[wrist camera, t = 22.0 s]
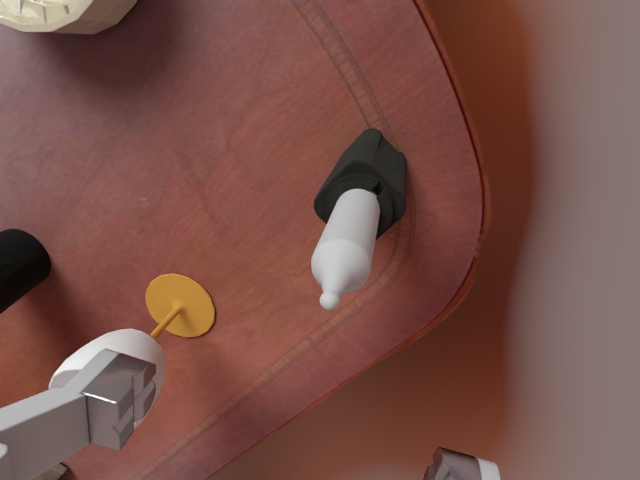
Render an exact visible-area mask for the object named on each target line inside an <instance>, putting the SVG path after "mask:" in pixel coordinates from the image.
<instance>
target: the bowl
mask: <svg viewBox="0 0 640 480" xmlns="http://www.w3.org/2000/svg"><path fill="white" fill-rule="evenodd" d="M136 2H137V0H0V24H3V25H5V26H8V27H11V28H13V29H16V30H19V31H22V32H29V33H48V34H67V35H76V34H96V33H98V32H100V31H102V30H105V29H107V28H109V27H111V26H113V25H116V24H117V23H118V22H119V21H120V20H121V19H122V18H123V17H124V16H125V15H126V14H127V13H128V11H129V10H130V9H131V8H132V7H133V6H134V5H135V4H136Z"/></svg>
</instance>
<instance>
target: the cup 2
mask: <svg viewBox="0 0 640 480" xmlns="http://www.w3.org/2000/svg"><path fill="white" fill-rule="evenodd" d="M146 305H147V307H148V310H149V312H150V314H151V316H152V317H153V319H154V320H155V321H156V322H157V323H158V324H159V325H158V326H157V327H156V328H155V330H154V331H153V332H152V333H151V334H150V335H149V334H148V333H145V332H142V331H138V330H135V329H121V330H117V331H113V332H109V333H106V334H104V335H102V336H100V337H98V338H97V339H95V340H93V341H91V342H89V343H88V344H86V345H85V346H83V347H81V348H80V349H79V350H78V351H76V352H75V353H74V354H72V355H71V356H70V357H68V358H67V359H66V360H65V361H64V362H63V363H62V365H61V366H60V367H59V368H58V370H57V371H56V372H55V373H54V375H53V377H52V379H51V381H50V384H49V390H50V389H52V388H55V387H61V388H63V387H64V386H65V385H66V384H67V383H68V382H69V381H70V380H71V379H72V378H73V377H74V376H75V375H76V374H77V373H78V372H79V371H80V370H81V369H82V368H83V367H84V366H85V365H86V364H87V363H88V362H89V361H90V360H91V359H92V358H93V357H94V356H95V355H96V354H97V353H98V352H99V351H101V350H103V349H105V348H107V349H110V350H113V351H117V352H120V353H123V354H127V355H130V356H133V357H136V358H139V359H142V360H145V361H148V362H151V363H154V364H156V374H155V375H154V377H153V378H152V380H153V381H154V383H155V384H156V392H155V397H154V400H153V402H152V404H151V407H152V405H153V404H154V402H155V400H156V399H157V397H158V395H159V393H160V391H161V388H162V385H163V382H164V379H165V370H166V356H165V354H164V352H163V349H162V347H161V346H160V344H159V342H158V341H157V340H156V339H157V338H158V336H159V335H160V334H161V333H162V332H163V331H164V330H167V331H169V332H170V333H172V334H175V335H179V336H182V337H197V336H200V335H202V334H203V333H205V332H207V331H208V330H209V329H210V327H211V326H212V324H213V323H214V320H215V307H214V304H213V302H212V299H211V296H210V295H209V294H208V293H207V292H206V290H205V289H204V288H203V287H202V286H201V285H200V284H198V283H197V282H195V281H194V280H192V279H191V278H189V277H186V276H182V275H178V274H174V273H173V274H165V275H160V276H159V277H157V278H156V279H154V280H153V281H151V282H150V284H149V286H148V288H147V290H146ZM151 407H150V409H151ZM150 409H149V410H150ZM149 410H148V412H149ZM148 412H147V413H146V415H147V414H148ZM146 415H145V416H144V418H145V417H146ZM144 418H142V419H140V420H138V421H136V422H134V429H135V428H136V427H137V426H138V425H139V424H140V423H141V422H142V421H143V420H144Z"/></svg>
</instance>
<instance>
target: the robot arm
mask: <svg viewBox="0 0 640 480" xmlns="http://www.w3.org/2000/svg"><path fill="white" fill-rule="evenodd" d="M155 374H156V364H154V363H151V362H148V361H145V360H142V359H139V358H136V357H133V356H130V355H127V354H123V353H120V352H117V351H113V350H110V349H107V348H105V349H103V350H101V351H99V352H98V353H97V354H96V355H95V356H94V357H93V358H92V359H91V360H90V361H89V362H88V363H87V364H86V365H85V366H84V367H83V368H82V369H81V370H80V371H79V372H78V373H77V374H76V375H75V376H74V377H73V378H72V379H71V380H70V381H69V382H68V383H67V384H66V385H65V386H64V387H63V388H61V387H55V388H52V389H50V390H47V391H44V392H42V393H39V394H37V395H34V396H32V397H29V398H26V399H24V400H21V401H19V402H16V403H13V404H11V405H8V406H6V407H3V408H1V409H0V480H33V479H34V478H36V477H38V476H39V475H41V474H42V473H44V472H46V471H47V470H49V469H51V468H52V467H54V466H56V465H57V464H59V463H61V462H62V461H64V460H66V459H67V458H69V457H70V456H72V455H74V454H75V453H77V452H79V451H80V450H82V449H84V448H85V447H87V446H89V445H90V443H92V444H95V445H99V446H103V447H106V448H110V449H113V450H117V451H120V450H121V448H122V447H123V445H124V444H125V443H126V441H127V440H128V439H129V437H130V436H131V434H132V433H133V432H134V422H136V421H138V420H140V419H142V418H144V416H145V415H146V413H147V412H148V410H149V409H150V407H151V404H152V402H153V400H154V397H155V392H156V384H155V383H154V381H153V380H152V378H153V377H154V375H155ZM423 480H501V478H500V474H499V470H498V466H497V465H496V463H494V462H490V461H487V460H483V459H480V458H475V457H473V456H470V455H467V454H463V453H460V452H456V451H453V450H449V449H445V448H442V447H438V448H437V449H436V450H435V452H434V455H433V464H432V465H430V466H428V468H427V470H426V473H425V475H424V479H423Z"/></svg>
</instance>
